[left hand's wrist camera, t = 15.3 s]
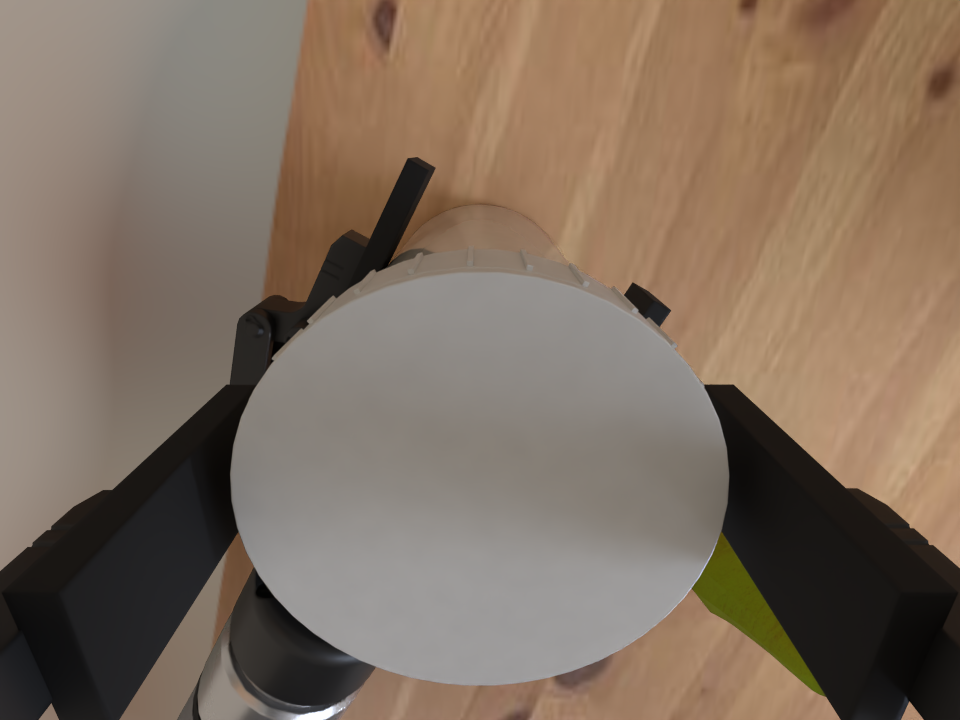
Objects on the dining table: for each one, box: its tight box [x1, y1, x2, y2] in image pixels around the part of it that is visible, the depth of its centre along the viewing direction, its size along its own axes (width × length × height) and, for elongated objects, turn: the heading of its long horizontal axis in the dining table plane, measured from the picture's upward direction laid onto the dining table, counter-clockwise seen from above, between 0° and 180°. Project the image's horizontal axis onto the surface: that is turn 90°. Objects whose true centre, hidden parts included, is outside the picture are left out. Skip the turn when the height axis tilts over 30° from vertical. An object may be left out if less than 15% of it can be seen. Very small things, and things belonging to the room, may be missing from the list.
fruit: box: [692, 532, 826, 697], centre depth 26 cm, size 6×6×12 cm
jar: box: [387, 204, 570, 268], centre depth 18 cm, size 9×9×16 cm
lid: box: [230, 246, 729, 685], centre depth 11 cm, size 10×10×2 cm
